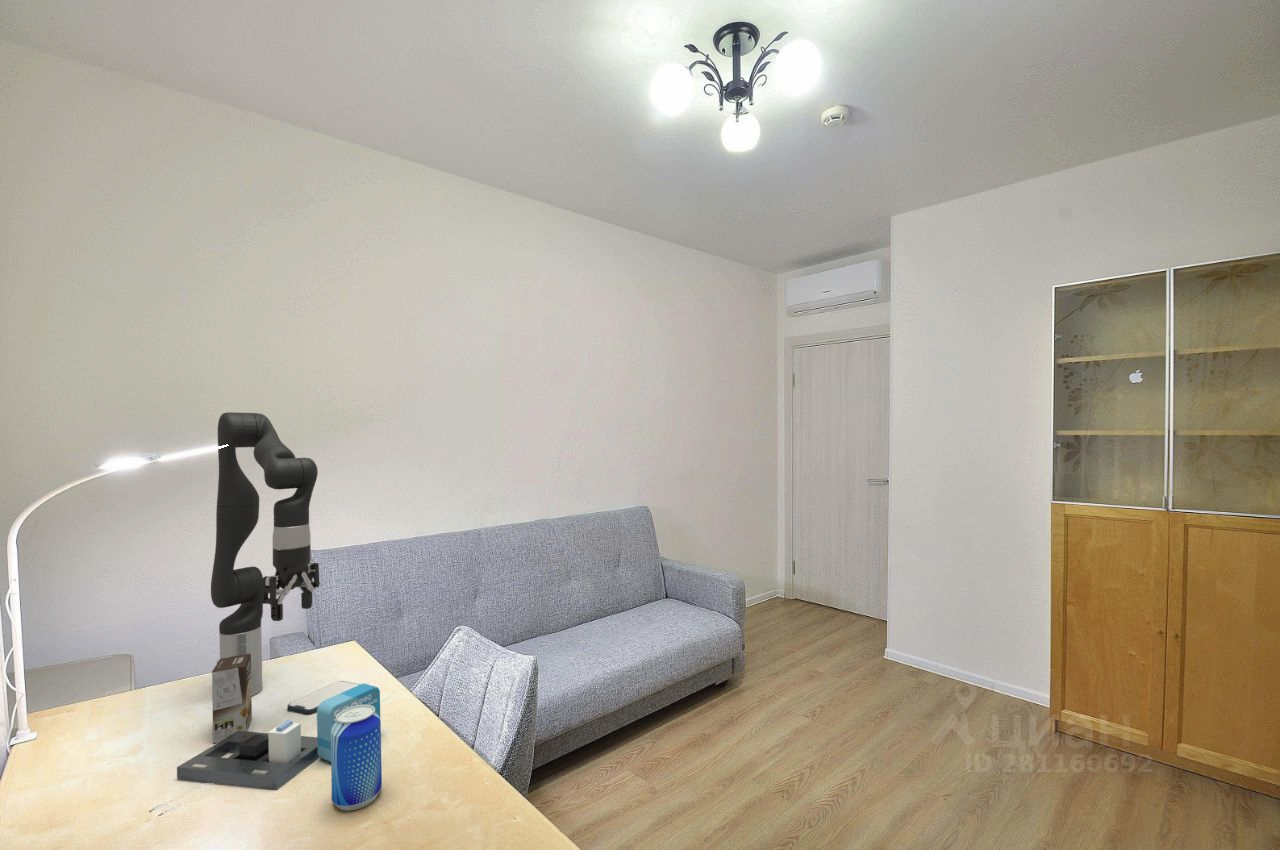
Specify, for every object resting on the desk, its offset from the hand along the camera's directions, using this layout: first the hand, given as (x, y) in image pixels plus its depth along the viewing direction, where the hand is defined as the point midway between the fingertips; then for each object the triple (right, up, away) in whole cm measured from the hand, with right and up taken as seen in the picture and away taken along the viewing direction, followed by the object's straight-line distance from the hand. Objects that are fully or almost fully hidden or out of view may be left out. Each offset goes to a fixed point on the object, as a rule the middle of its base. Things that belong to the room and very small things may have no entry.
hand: (292, 614), depth 132 cm
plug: (+7, -27, -14) cm, 31 cm away
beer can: (+28, -27, -25) cm, 46 cm away
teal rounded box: (+17, -27, -8) cm, 33 cm away
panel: (0, -27, -13) cm, 30 cm away
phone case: (-1, -28, +16) cm, 33 cm away
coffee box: (-14, -28, +1) cm, 31 cm away
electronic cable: (-6, -28, -24) cm, 37 cm away
